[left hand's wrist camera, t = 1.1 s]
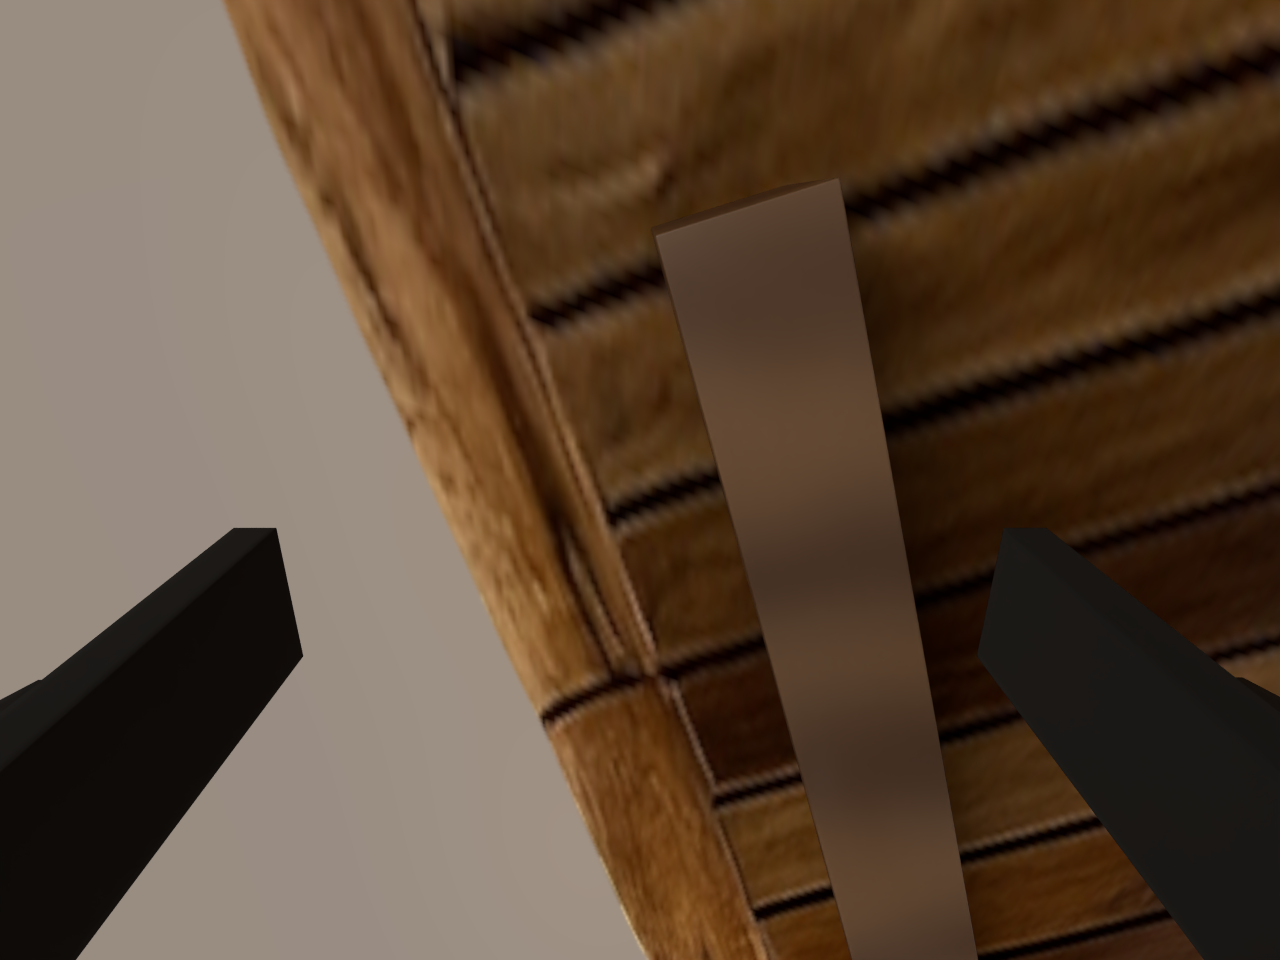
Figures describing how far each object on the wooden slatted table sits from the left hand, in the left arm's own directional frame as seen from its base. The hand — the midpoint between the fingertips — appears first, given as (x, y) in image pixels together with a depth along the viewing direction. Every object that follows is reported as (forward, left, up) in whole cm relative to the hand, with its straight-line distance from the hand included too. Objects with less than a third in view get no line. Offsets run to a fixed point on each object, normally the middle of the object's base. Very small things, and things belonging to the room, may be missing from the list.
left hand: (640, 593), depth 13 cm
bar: (-2, +25, -16) cm, 30 cm away
